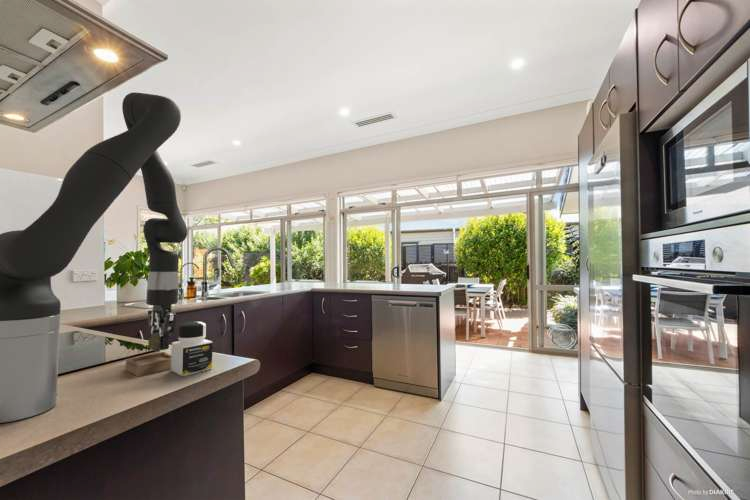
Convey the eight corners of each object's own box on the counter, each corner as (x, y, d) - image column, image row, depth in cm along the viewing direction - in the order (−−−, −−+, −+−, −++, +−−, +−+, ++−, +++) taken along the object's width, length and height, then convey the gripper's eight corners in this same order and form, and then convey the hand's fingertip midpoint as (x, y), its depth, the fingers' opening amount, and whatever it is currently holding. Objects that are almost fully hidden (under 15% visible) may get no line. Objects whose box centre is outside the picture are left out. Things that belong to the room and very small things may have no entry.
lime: (170, 349, 91) (171, 331, 91) (150, 352, 87) (151, 334, 88) (166, 347, 94) (167, 329, 94) (146, 349, 90) (147, 331, 91)
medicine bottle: (182, 376, 77) (183, 326, 77) (170, 370, 81) (171, 323, 81) (212, 369, 82) (213, 322, 83) (199, 363, 87) (200, 319, 87)
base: (137, 376, 77) (137, 365, 77) (125, 369, 82) (126, 359, 82) (176, 367, 83) (176, 357, 84) (163, 361, 89) (163, 351, 89)
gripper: (138, 287, 93) (135, 346, 92) (158, 289, 84) (155, 355, 83) (167, 286, 99) (164, 342, 98) (188, 288, 91) (185, 349, 90)
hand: (160, 347), depth 91 cm, fingers closed on lime, 4 cm apart
